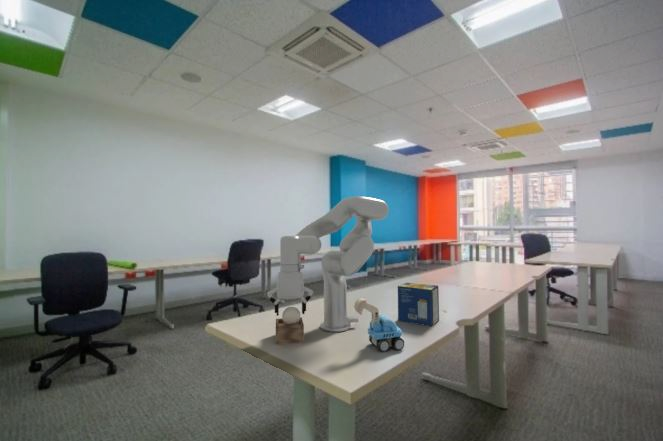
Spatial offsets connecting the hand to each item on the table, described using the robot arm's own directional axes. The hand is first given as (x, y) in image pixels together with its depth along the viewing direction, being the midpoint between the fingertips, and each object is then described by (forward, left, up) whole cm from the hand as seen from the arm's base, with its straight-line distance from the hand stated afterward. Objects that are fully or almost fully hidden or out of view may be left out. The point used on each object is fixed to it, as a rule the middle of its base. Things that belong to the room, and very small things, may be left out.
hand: (290, 314), depth 116 cm
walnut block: (0, 0, -9) cm, 9 cm away
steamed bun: (0, 0, -4) cm, 4 cm away
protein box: (-57, -11, -9) cm, 59 cm away
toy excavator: (-29, +16, -9) cm, 34 cm away
